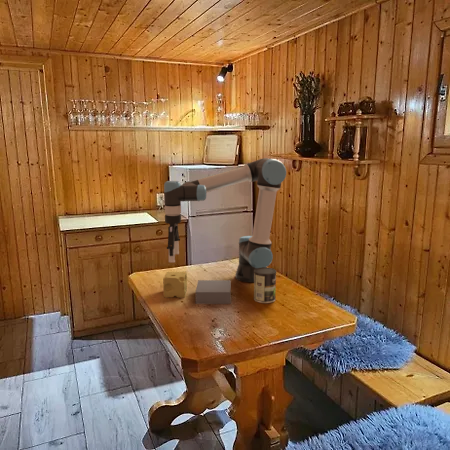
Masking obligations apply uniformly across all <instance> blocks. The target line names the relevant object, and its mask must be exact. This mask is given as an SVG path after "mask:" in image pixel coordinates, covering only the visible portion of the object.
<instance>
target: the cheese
mask: <svg viewBox="0 0 450 450" xmlns="http://www.w3.org/2000/svg"><path fill="white" fill-rule="evenodd" d="M162 282H163V287H162V288H163V290H162V291H163V297H164V298H175V297H176V298H180V299H181V298H186V293H187V289H188V272H187V271H166V273H165V275H164V277H163V281H162Z"/></svg>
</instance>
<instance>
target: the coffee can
mask: <svg viewBox="0 0 450 450" xmlns="http://www.w3.org/2000/svg"><path fill="white" fill-rule="evenodd" d="M276 283H277V270H276V269H275V268H272V267H268V266H267V267H262V268H256V269H255V270H254V282H253V300H254V301H255V302H257V303H260V304H271V303H274V302H275V301H276V293H277V292H276V290H277V289H276V287H277V284H276Z"/></svg>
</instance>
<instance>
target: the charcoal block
mask: <svg viewBox="0 0 450 450" xmlns="http://www.w3.org/2000/svg"><path fill="white" fill-rule="evenodd" d="M231 283H232V282H231V280H230V279H229V280H228V279H225V280H224V279H223V280H222V279H216V280H215V279H211V280H210V279H209V280H208V279H200V280H198V281H197V283H196V289H195V304H196V305H201V304H202V305H203V304H204V305H217V304H218V305H231V303H232V301H231V300H232V297H231V296H232V295H231V294H232V293H231V291H232V290H231V288H232V287H231V285H232V284H231Z"/></svg>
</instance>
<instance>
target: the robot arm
mask: <svg viewBox="0 0 450 450" xmlns="http://www.w3.org/2000/svg"><path fill="white" fill-rule="evenodd" d="M286 177H287V168H286V166H285V164H284V163H283V162H282V161H281V160H278V159H276V158H268V157H267V158H266V157H264V158H260V159H257V160H254V161H251V162H248V163H245V164H244V165H243V166H241V167H239V168H238V167H237V168H235V169H231V170H227V171H224V172H220V173H217V174H214V175H210V176H206V177H202V178H199V179H196V180H192V181H186V182H184V183H183V184H182V183H181V182H180V181H178V180H167V181H165V182H164V185H163V186H164V187H163V189H164V190H163V196H164V197H163V199H164V207H163V210H164V214H165V215H164V223H165V224H169V226H168V230H167V232H168V233H167V246H166V249H167V250H168V263H176V258H175V257H176V255H179V254H180V251H179V250H180V246H179V244H180V243H179V242H180V241H181V238H180V235H179V234H180V233H179V224H180V223H182V215H181V213H182V204H181V203H182V202H203V201H206V199H207V193H210V192H213V191H218V190H221V189H224V188H228V187H231V186H234V185H238V184H242V183H246V182H249V183H252V182H256V186H257V188H258V196H257V201H256V210H255V216H254V223H253V230H252V235H244V236H240V237H239V239H238V266H237V269H236V271H235V279H236V280H238V281H240V282H242V283H254V270H255V269H256V268H262V267H267V268H268V267H269V266H270V265H271V264H272V262H273V258H274V255H273V252H272V241H271V239H270V238H271V237H270V235H271V228H272V224H273V223H272V222H273V217H274V212H275V205H276V198H277V193H278V191H280V190H281V187H282V183H283V182H284V181H285V179H286Z"/></svg>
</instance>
